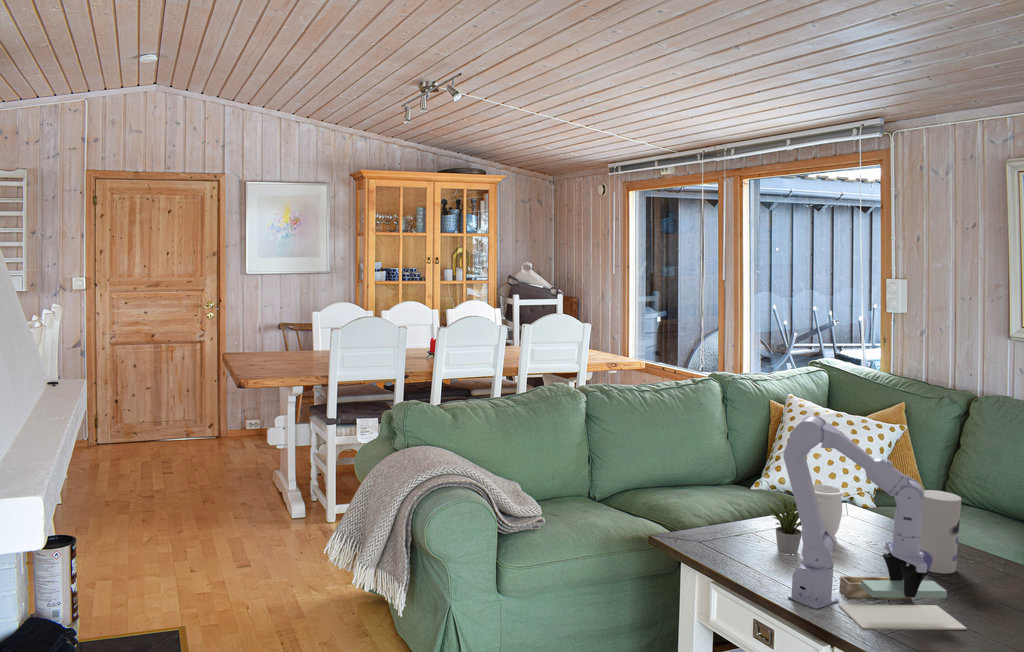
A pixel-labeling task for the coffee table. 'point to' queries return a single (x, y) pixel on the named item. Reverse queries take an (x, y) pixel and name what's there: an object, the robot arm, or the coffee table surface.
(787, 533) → the house plant
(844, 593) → the pencil box
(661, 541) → the coffee table surface
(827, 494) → the white vase
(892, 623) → the mat
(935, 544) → the container
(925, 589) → the lid
